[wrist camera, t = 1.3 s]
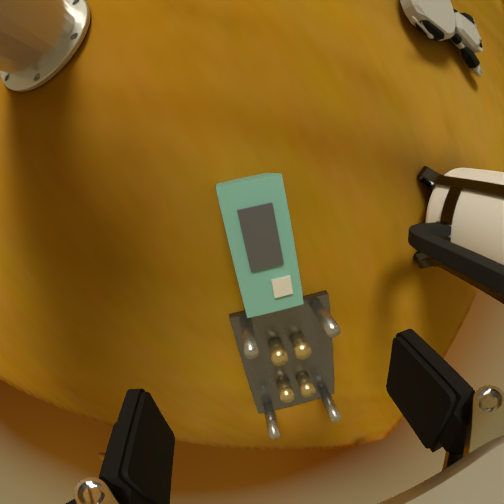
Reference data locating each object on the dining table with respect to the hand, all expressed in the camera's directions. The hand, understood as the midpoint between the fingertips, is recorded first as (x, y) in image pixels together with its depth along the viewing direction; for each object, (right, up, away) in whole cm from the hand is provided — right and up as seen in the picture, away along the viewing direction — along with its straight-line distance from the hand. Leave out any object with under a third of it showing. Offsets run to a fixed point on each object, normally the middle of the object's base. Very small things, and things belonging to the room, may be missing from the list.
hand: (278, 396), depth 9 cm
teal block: (-1, +7, +16) cm, 18 cm away
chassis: (+3, -7, +21) cm, 22 cm away
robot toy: (+23, +35, +11) cm, 43 cm away
